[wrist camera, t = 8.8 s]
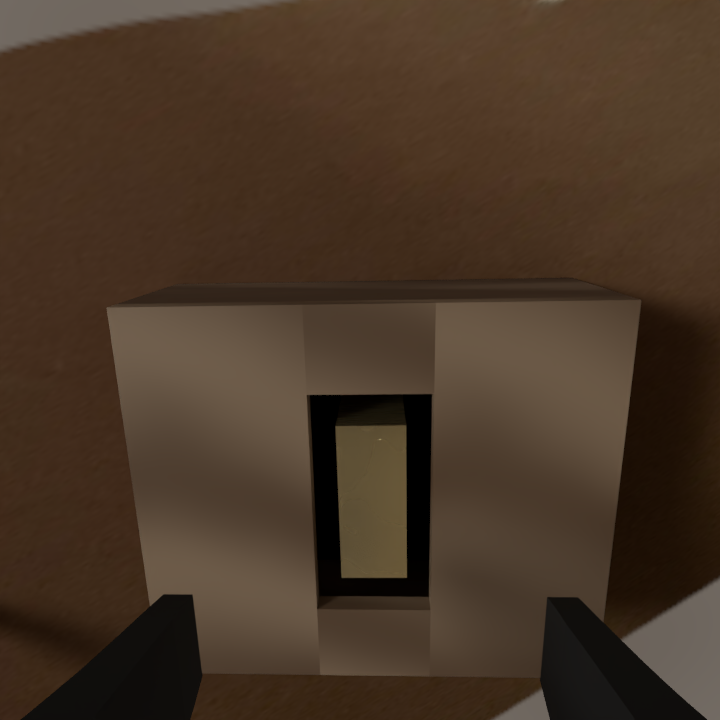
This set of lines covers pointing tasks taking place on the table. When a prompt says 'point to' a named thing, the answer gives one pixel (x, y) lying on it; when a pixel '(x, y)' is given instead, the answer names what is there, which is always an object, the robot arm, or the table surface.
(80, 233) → the table surface
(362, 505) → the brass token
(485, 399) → the beige block with hole
